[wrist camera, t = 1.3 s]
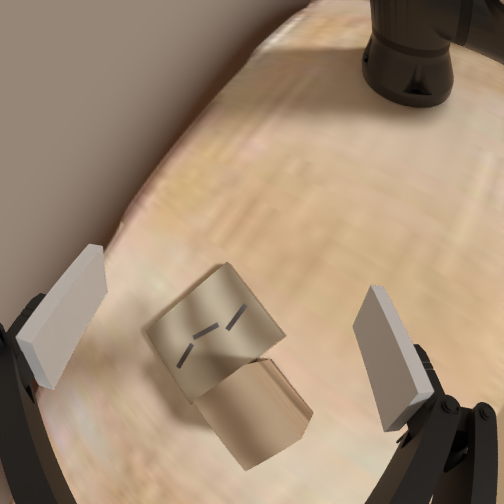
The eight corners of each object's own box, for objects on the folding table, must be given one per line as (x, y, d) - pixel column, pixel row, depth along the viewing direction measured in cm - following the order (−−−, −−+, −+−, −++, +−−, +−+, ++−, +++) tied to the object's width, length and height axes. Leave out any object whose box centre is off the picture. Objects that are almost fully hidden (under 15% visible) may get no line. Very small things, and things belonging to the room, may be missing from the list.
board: (231, 264, 39) (226, 261, 37) (286, 335, 34) (283, 335, 33) (152, 331, 39) (145, 331, 38) (196, 402, 35) (190, 404, 34)
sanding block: (271, 358, 34) (244, 364, 25) (313, 412, 31) (301, 438, 22) (231, 387, 34) (193, 401, 25) (271, 440, 31) (245, 471, 22)
